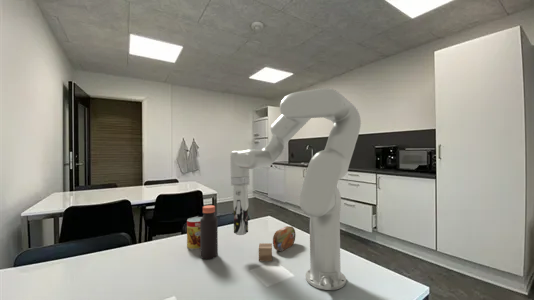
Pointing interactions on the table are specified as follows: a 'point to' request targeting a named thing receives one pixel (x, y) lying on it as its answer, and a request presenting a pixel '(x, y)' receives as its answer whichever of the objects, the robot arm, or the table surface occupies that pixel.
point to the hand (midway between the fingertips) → (241, 226)
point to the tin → (284, 238)
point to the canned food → (193, 233)
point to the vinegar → (209, 233)
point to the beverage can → (238, 227)
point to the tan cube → (265, 252)
